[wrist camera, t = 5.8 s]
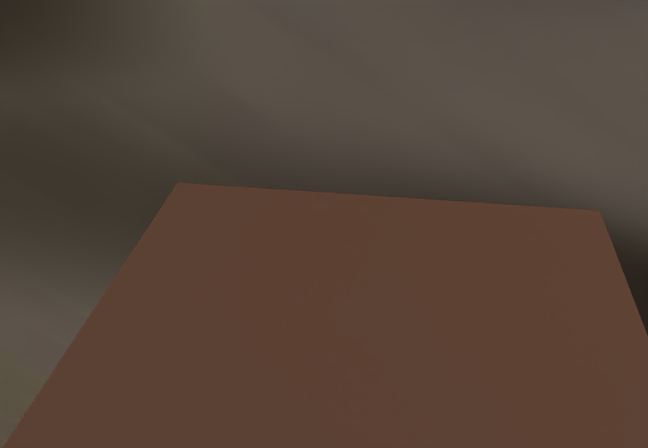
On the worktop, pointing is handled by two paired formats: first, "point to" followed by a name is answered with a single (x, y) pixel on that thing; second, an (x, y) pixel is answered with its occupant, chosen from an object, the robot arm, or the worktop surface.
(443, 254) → the terracotta cube
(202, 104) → the worktop surface
